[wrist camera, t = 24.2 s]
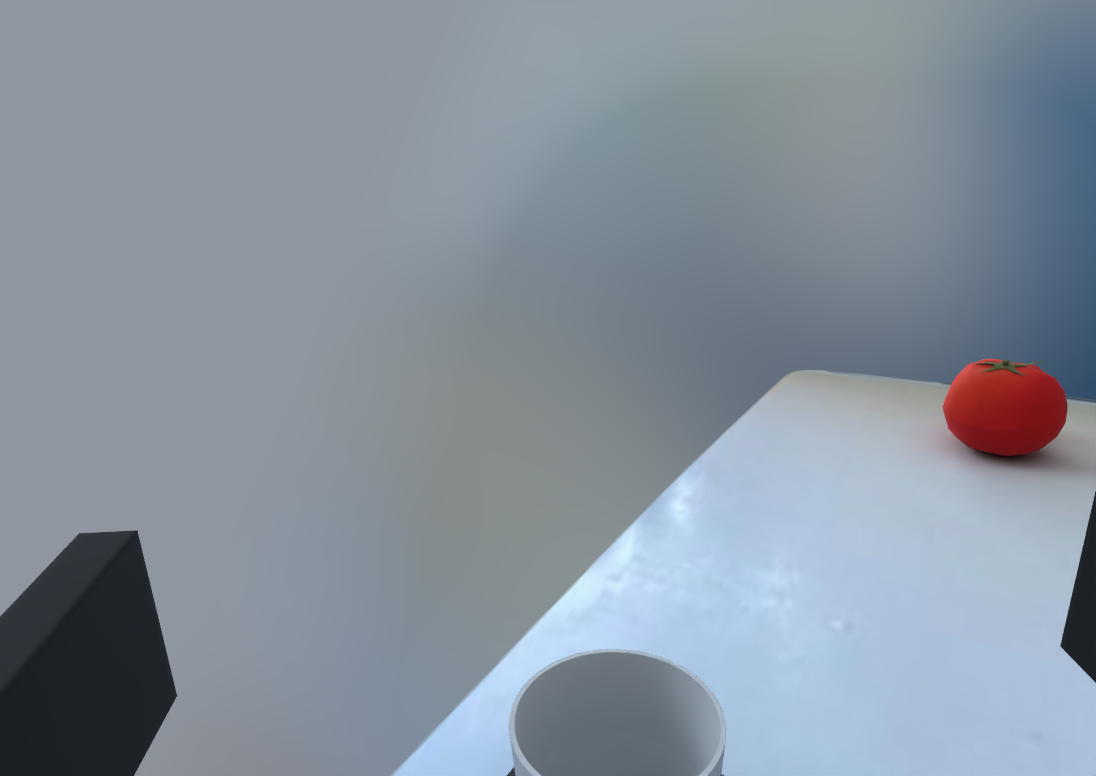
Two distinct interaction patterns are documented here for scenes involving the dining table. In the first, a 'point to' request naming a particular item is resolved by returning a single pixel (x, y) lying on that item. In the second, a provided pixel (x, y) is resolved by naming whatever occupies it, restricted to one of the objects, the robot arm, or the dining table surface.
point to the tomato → (1005, 407)
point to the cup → (616, 719)
